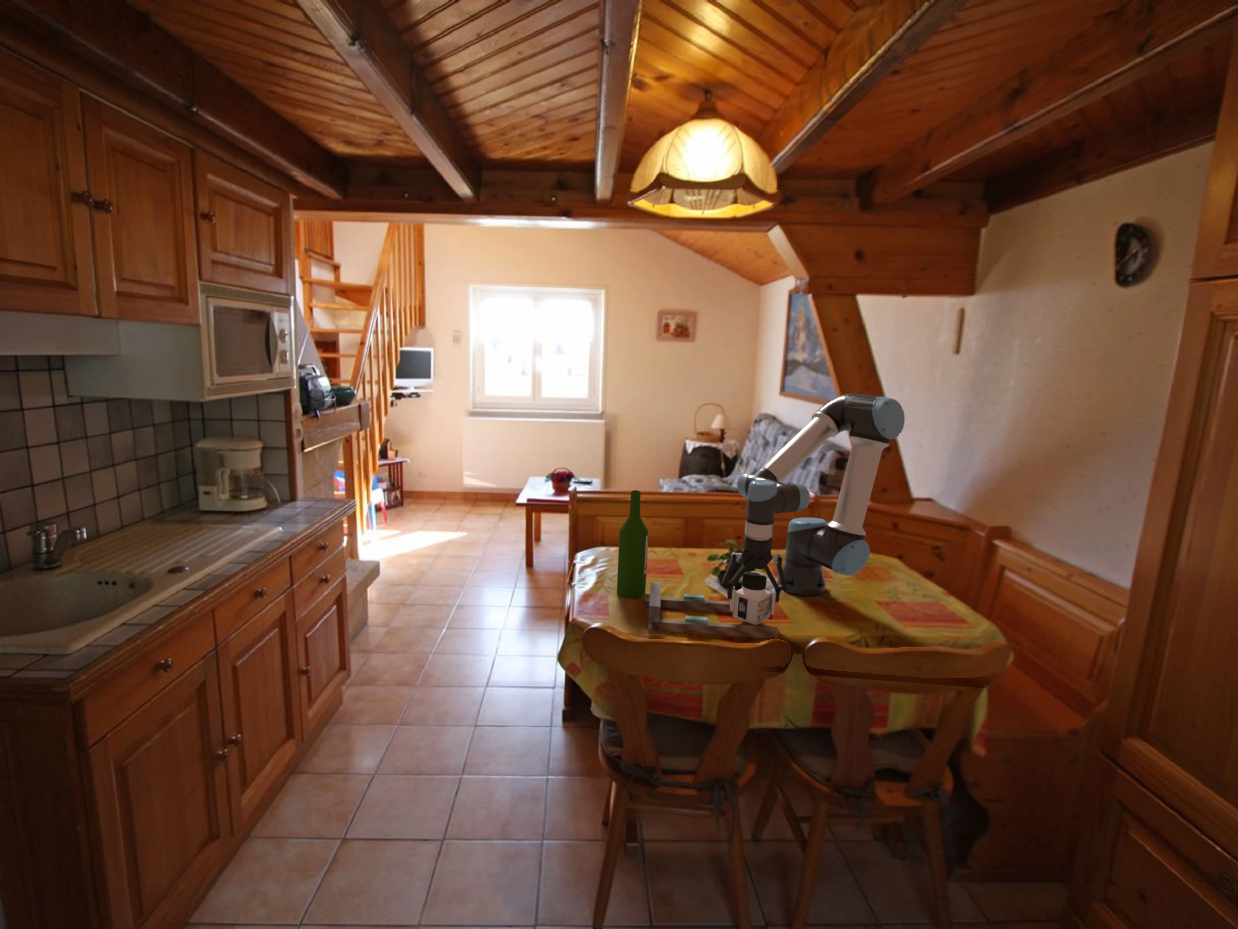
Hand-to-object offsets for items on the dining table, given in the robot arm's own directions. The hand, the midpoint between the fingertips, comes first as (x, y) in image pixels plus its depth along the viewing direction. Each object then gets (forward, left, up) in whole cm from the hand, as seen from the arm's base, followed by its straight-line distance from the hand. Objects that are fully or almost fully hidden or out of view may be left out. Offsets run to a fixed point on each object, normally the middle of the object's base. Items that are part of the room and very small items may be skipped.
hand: (751, 611), depth 178 cm
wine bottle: (+35, -16, -4) cm, 39 cm away
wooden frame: (+12, 0, -4) cm, 13 cm away
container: (0, 0, -2) cm, 2 cm away
